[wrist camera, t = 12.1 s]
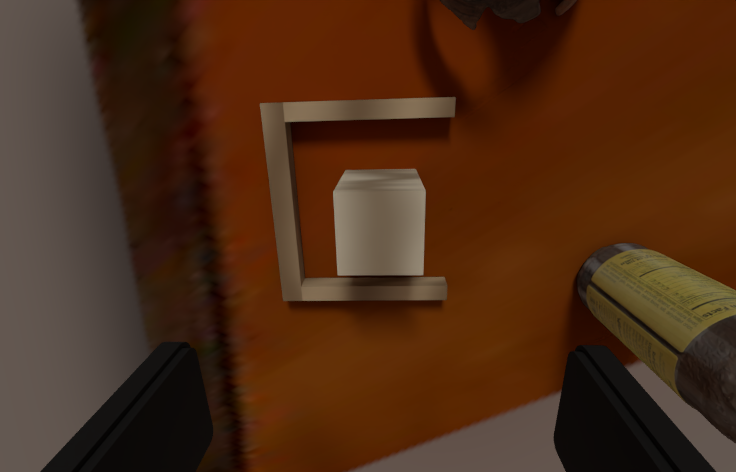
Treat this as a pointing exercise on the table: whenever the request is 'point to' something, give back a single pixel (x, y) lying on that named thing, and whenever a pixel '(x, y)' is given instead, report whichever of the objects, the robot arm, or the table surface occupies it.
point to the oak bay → (286, 199)
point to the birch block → (380, 222)
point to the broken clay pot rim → (500, 9)
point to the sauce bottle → (669, 324)
